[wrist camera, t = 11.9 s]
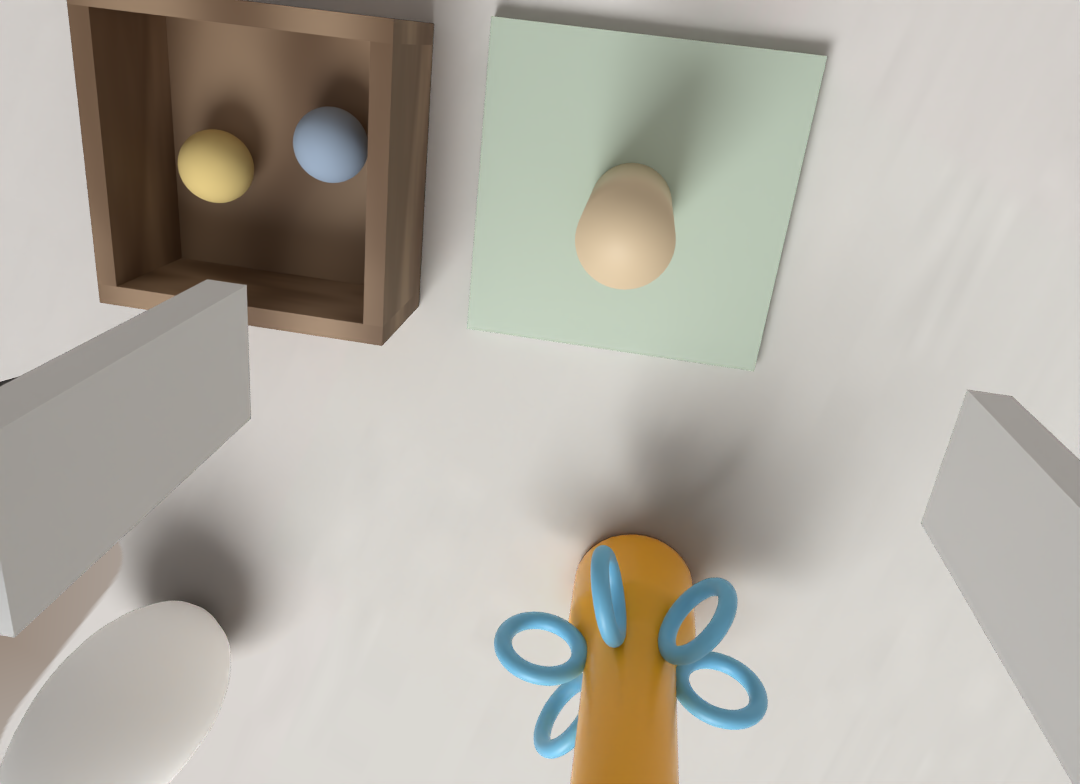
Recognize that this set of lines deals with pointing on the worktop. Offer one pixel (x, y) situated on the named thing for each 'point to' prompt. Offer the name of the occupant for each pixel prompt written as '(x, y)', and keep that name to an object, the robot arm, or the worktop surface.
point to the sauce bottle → (126, 702)
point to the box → (255, 158)
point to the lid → (636, 189)
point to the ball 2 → (330, 144)
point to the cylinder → (631, 662)
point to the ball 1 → (215, 166)
